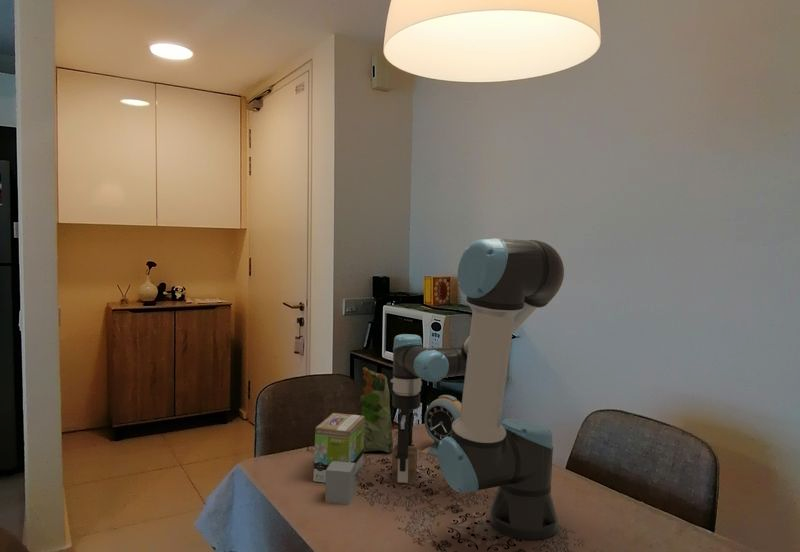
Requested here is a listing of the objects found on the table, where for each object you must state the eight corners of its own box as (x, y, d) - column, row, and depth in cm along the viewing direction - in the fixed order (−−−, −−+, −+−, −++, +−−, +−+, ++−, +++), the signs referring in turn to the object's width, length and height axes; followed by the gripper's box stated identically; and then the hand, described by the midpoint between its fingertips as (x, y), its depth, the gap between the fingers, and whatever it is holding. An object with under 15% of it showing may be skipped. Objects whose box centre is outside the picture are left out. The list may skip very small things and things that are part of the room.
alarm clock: (417, 451, 173) (419, 394, 173) (435, 443, 181) (436, 388, 180) (457, 463, 165) (459, 403, 164) (474, 453, 173) (476, 396, 172)
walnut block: (414, 483, 149) (414, 454, 149) (391, 482, 150) (392, 452, 150) (416, 475, 155) (417, 446, 155) (394, 473, 156) (395, 444, 156)
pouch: (387, 458, 167) (389, 374, 166) (349, 453, 170) (351, 371, 169) (397, 446, 178) (399, 367, 177) (361, 441, 181) (363, 364, 180)
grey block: (349, 504, 136) (350, 472, 136) (325, 502, 137) (325, 470, 137) (354, 494, 142) (355, 462, 142) (331, 492, 143) (332, 461, 143)
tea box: (349, 486, 147) (350, 430, 146) (312, 482, 149) (313, 427, 148) (364, 465, 161) (365, 414, 161) (330, 461, 163) (331, 411, 163)
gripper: (397, 383, 161) (395, 463, 162) (386, 400, 143) (384, 490, 144) (423, 384, 160) (421, 465, 161) (416, 402, 142) (414, 493, 143)
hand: (404, 476), depth 153 cm, fingers closed on walnut block, 6 cm apart
